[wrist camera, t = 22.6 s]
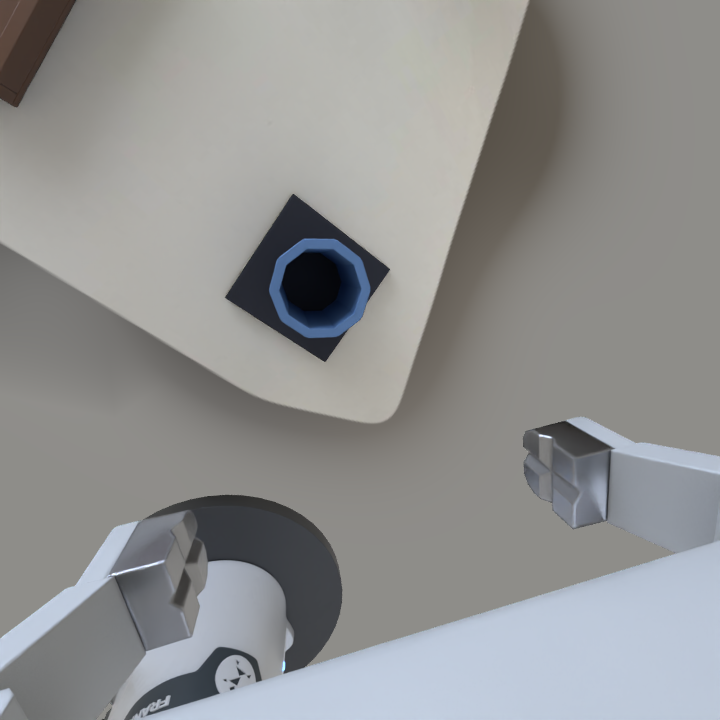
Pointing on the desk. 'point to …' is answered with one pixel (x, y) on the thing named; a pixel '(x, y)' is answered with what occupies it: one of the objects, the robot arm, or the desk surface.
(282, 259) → the blue faceted tube
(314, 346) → the mat
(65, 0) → the tray
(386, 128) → the desk surface
